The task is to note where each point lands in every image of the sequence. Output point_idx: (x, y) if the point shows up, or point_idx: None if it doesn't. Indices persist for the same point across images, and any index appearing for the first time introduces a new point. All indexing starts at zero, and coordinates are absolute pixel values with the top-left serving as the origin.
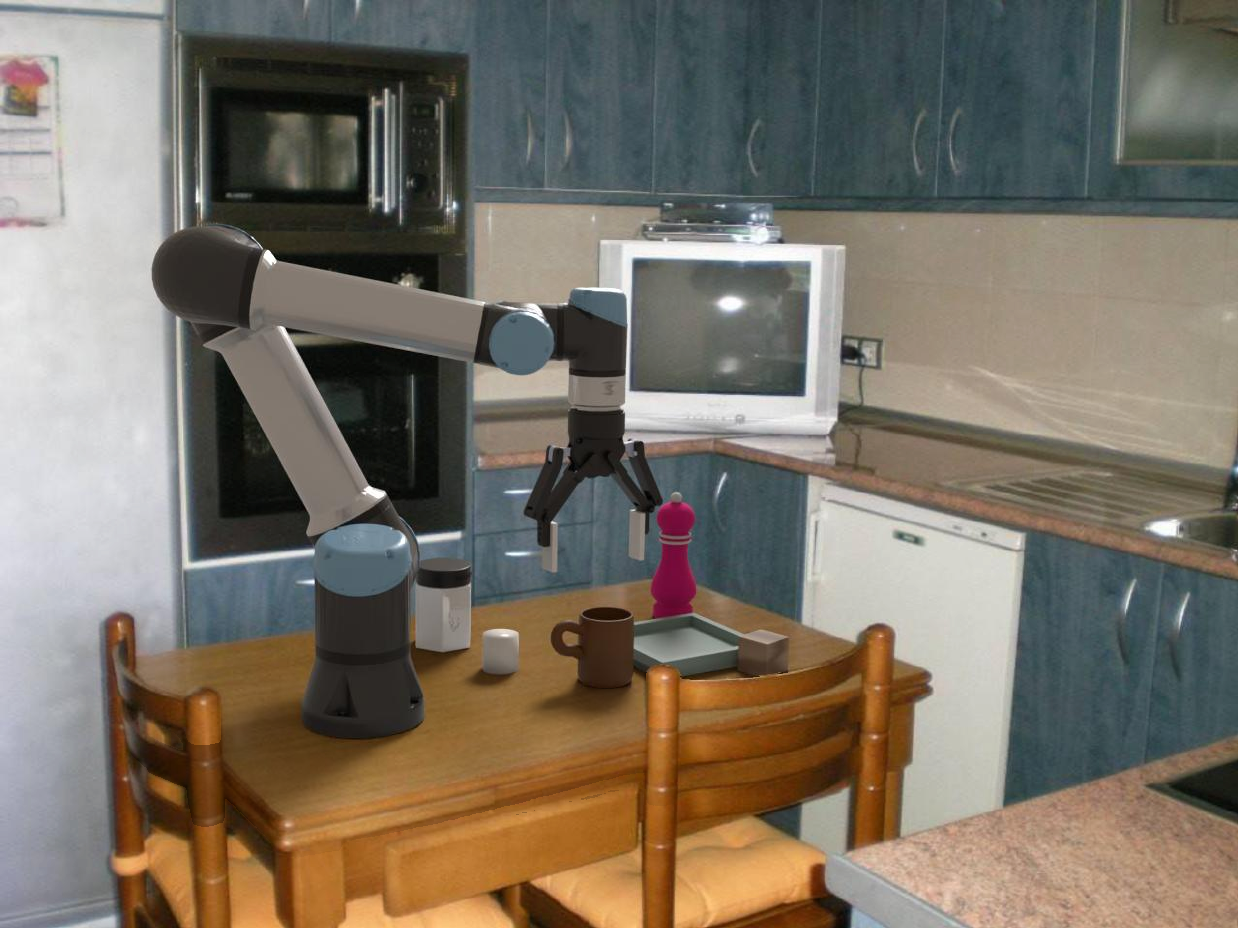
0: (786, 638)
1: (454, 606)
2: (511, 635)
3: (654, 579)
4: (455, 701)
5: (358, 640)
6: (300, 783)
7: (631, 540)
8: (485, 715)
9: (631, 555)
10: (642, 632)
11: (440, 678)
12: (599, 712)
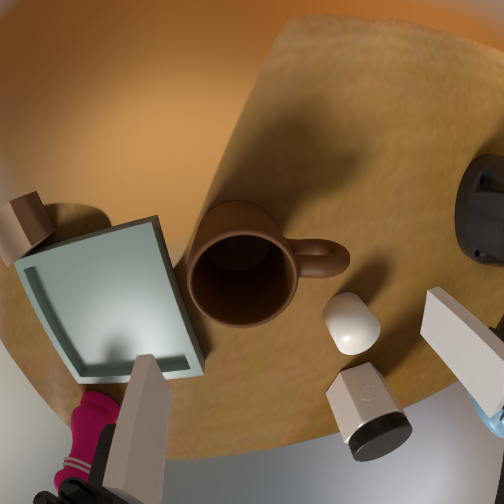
0: None
1: (374, 399)
2: (350, 329)
3: None
4: (425, 219)
5: None
6: None
7: (162, 424)
8: (417, 165)
9: (167, 388)
10: None
11: (407, 292)
12: (295, 115)
